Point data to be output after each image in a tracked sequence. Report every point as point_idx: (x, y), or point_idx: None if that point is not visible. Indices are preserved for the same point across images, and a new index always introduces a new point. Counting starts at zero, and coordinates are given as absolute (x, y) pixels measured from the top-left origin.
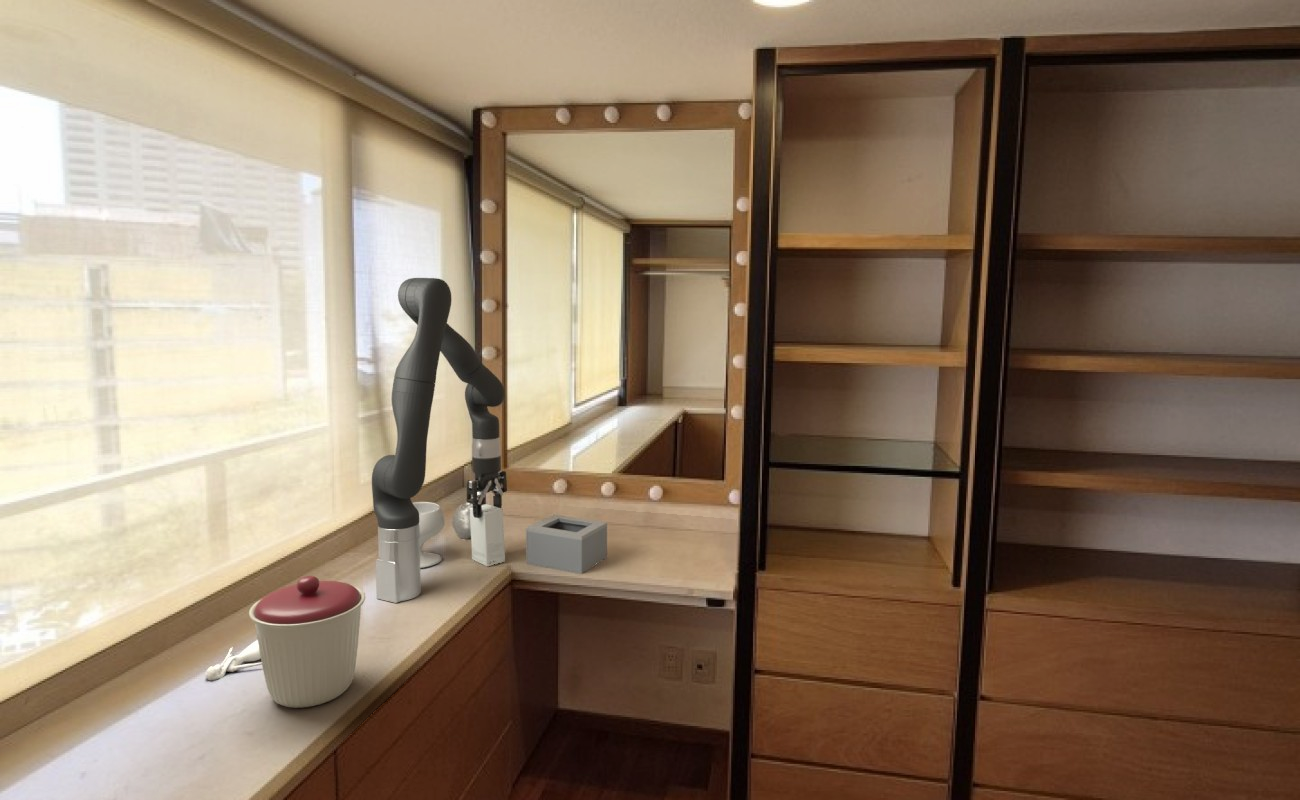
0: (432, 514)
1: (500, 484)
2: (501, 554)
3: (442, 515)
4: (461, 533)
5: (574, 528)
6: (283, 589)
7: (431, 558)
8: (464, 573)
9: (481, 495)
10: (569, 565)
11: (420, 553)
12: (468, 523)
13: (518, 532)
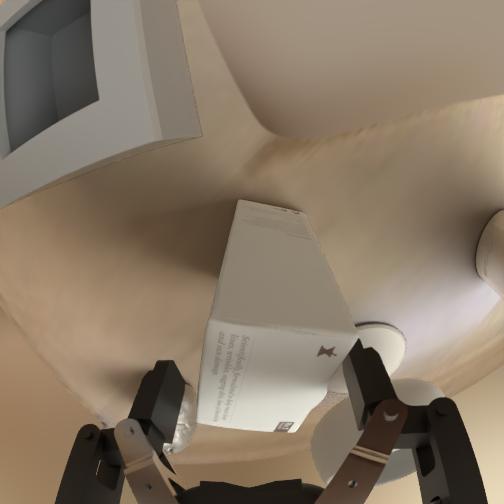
0: None
1: (99, 476)
2: (251, 208)
3: (360, 434)
4: (196, 400)
5: (10, 111)
6: None
7: None
8: (375, 228)
9: (385, 457)
10: None
11: None
12: (180, 410)
13: (81, 330)
